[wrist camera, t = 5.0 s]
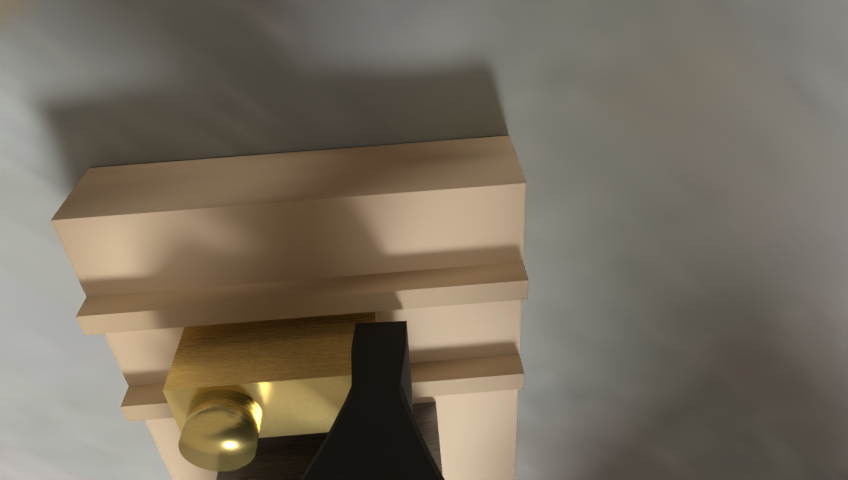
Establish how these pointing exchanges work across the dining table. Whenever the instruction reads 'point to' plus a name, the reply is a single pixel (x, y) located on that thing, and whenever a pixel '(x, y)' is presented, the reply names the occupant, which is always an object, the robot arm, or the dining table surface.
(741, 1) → the dining table surface
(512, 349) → the wooden tray with rails
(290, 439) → the metal box with knob
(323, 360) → the bolt
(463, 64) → the dining table surface
